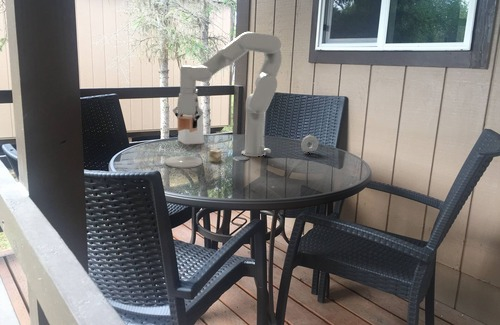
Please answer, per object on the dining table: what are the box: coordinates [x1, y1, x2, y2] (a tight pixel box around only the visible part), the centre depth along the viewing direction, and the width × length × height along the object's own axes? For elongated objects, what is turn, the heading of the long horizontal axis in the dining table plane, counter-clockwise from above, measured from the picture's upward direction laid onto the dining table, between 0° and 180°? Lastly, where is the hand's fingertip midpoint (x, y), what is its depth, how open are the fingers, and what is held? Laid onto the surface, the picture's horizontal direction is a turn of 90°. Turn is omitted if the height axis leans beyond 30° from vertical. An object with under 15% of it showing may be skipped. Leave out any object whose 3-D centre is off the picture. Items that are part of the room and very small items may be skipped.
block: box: [208, 149, 223, 163], centre depth 201 cm, size 4×4×5 cm
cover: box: [177, 115, 197, 132], centre depth 209 cm, size 7×7×7 cm
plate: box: [164, 155, 203, 169], centre depth 194 cm, size 17×17×1 cm
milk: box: [177, 106, 205, 145], centre depth 240 cm, size 12×12×26 cm
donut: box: [300, 134, 319, 152], centre depth 225 cm, size 10×4×10 cm, turn 112°
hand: (187, 126), depth 209 cm, fingers closed on cover, 7 cm apart
